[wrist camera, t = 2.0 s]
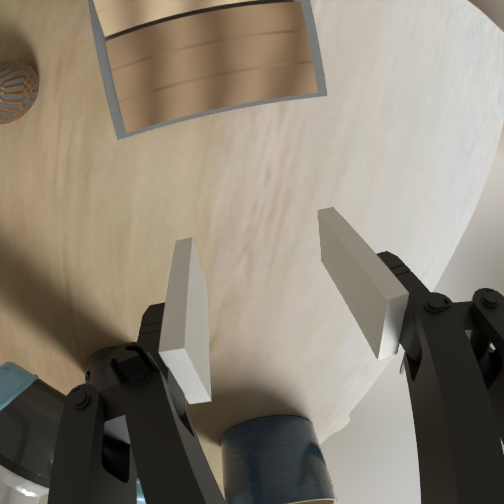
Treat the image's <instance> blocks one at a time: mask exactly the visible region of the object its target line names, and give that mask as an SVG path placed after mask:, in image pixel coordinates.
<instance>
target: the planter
mask: <svg viewBox="0 0 504 504" xmlns="http://www.w3.org/2000/svg"><path fill="white" fill-rule="evenodd" d="M221 451H222V469H223V485H224V497H225V502H226V504H335V503H336V502H337V498H336V495H335V491H334V488H333V485H332V481H331V478H330V475H329V472H328V469H327V466H326V463H325V460H324V457H323V454H322V451H321V448H320V445H319V442H318V439H317V436H316V433H315V430H314V427H313V425H312V423H311V422H310V421H309V420H307V419H305V418H302V417H298V416H290V415H278V416H268V417H262V418H257V419H253V420H249V421H246V422H243V423H241V424H238V425H236V426H234V427H232V428H231V429H229V430H228V431H227V432H226V433H225V434H224V435H223V436H222V439H221Z"/></svg>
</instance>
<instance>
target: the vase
mask: <svg viewBox="0 0 504 504" xmlns="http://www.w3.org/2000/svg"><path fill="white" fill-rule="evenodd" d="M38 89H39V80H38V76H37V73H36V72H35V70H34V69H33V68H32V67H31V66H30V65H29V64H28V63H26V62H23V61H20V60H7V61H3V62H0V124H6V123H10V122H12V121H15V120H17V119H18V118H20V117H21V116H23V115H24V114H25V113H26V112H27V111H28V110H29V109H30V108H31V106H32V105H33V103H34V102H35V100H36V97H37V94H38Z"/></svg>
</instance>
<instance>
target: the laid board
mask: <svg viewBox="0 0 504 504" xmlns="http://www.w3.org/2000/svg"><path fill="white" fill-rule="evenodd" d="M105 42H106V48H107V53H108V58H109V63H110V67H111V72H112V77H113V81H114V86H115V90H116V94H117V98H118V103H119V107H120V111H121V115H122V119H123V122H124V126H125V130H126V133H129V132H132V131H135V130H138V129H141V128H144V127H148V126H151V125H155V124H158V123H162V122H165V121H169V120H173V119H176V118H180V117H184V116H188V115H192V114H196V113H200V112H205V111H209V110H214V109H218V108H223V107H228V106H233V105H238V104H243V103H249V102H255V101H261V100H267V99H273V98H280V97H287V96H295V95H303V94H312V93H318V90H317V84H316V78H315V72H314V66H313V60H312V54H311V49H310V43H309V38H308V33H307V28H306V23H305V19H304V14H303V9H302V5H301V2H282V3H269V4H259V5H250V6H242V7H235V8H228V9H222V10H216V11H211V12H205V13H200V14H196V15H191V16H187V17H182V18H178V19H174V20H170V21H167V22H163V23H159V24H156V25H152V26H149V27H146V28H142V29H139V30H136V31H133V32H130V33H127V34H124V35H122V36H119V37H116V38H113V39H111V40H108V41H105Z"/></svg>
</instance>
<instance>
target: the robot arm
mask: <svg viewBox="0 0 504 504" xmlns="http://www.w3.org/2000/svg"><path fill="white" fill-rule="evenodd" d="M318 221H319V233H320V246H321V260H322V262H323V264H324V266H325V268H326V269H327V271H328V273H329V274H330V276H331V278H332V279H333V281H334V283H335V284H336V286H337V288H338V290H339V291H340V293H341V295H342V297H343V298H344V300H345V302H346V304H347V305H348V307H349V309H350V311H351V312H352V314H353V316H354V318H355V319H356V321H357V323H358V325H359V327H360V328H361V330H362V332H363V334H364V336H365V337H366V339H367V341H368V343H369V345H370V347H371V348H372V350H373V352H374V354H375V356H376V358H377V360H381V359H383V358H386V357H389V356H392V355H395V354H397V352H398V348H399V343H400V344H401V345H402V347H403V348H404V350H405V353H404V357H403V361H402V365H401V368H400V374H403V372H404V368H405V370H406V376H407V382H408V387H409V393H410V399H411V405H412V411H413V418H414V425H415V433H416V441H417V450H418V460H419V472H420V487H421V504H504V454H503V449H502V444H501V440H502V442H503V444H504V297H503V295H501V294H500V293H499V292H497V291H495V290H493V289H489V288H482V289H479V290H477V291H475V293H474V295H473V298H472V301H469V302H458V303H452V301H451V300H450V299H449V298H448V297H446V296H445V295H443V294H440V293H435V292H430V291H429V290H428V289H427V288H426V287H425V286H424V284H423V283H422V282H421V281H420V280H419V279H418V278H417V277H416V276H415V275H414V273H413V272H411V271H410V269H409V268H408V267H407V266H405V264H404V263H403V262H402V260H401V259H400V258H399V257H398V256H396V255H394V254H392V253H390V252H388V251H385V252H382V253H378V254H376V253H375V252H374V251H373V250H372V249H371V248H370V247H369V245H368V244H367V243H366V242H365V241H364V240H363V239H362V238H361V237H360V235H359V234H358V233H357V232H356V231H355V230H354V229H353V228H352V227H351V226H350V225H349V223H348V222H347V221H346V220H345V219H344V218H343V217H342V216H341V215H340V214H339V213H338V212H337V211H336V210H335V209H334V207H331V208H326V209H321V210H318ZM491 343H492V344H493V345H494V347H495V348H496V349H495V350H493V349H492V348H491V347H490V344H491ZM38 377H39V376H37V375H33V374H32V373H30V372H28V371H27V370H25V369H24V368H22V367H21V366H19V365H17V364H16V363H13V362H6V363H4V364H2V365H1V366H0V504H38V502H39V498H40V497H41V496H42V495H45V494H48V493H49V495H48V504H226V502H225V500H224V498H223V495H222V493H221V491H220V489H219V487H218V485H217V482H216V480H215V478H214V476H213V473H212V471H211V469H210V466H209V464H208V462H207V459H206V457H205V455H204V452H203V450H202V447H201V445H200V442H199V440H198V437H197V435H196V432H195V430H194V427H193V424H192V422H191V419H190V416H189V414H188V413H187V411H186V410H185V408H184V397H185V398H186V399H187V401H188V402H189V404H195V403H202V402H209V401H211V382H210V359H209V331H208V286H207V283H206V280H205V277H204V274H203V271H202V268H201V264H200V261H199V258H198V255H197V251H196V248H195V245H194V242H193V238H187V239H183V240H179V241H176V243H175V249H174V254H173V260H172V265H171V271H170V277H169V283H168V289H167V295H166V302H165V303H159V304H154V305H150V306H149V307H148V309H147V310H146V311H145V313H144V314H143V317H142V321H141V327H140V331H139V335H138V340H137V342H131V343H126V344H124V345H122V346H120V347H112V348H105V349H102V350H99V351H97V352H95V353H94V354H93V355H92V356H91V357H90V359H89V361H88V364H87V367H86V371H85V381H86V384H82V385H78V386H77V387H75V388H74V389H72V390H71V391H70V393H69V394H68V395H67V396H66V395H64V394H63V393H61V392H59V391H58V390H56V389H54V388H53V387H51V386H50V385H48V384H47V383H45V382H44V381H42V380H41V379H39V378H38ZM500 438H501V440H500Z"/></svg>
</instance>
